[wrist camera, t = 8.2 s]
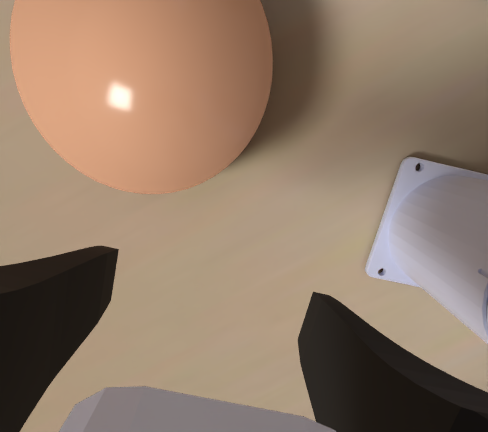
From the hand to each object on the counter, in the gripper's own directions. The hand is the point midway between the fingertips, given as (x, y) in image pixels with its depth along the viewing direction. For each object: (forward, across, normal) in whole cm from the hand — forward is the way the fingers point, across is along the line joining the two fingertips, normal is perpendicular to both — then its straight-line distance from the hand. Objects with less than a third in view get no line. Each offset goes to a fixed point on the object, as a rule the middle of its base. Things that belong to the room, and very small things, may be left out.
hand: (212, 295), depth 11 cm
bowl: (+10, +5, -8) cm, 13 cm away
